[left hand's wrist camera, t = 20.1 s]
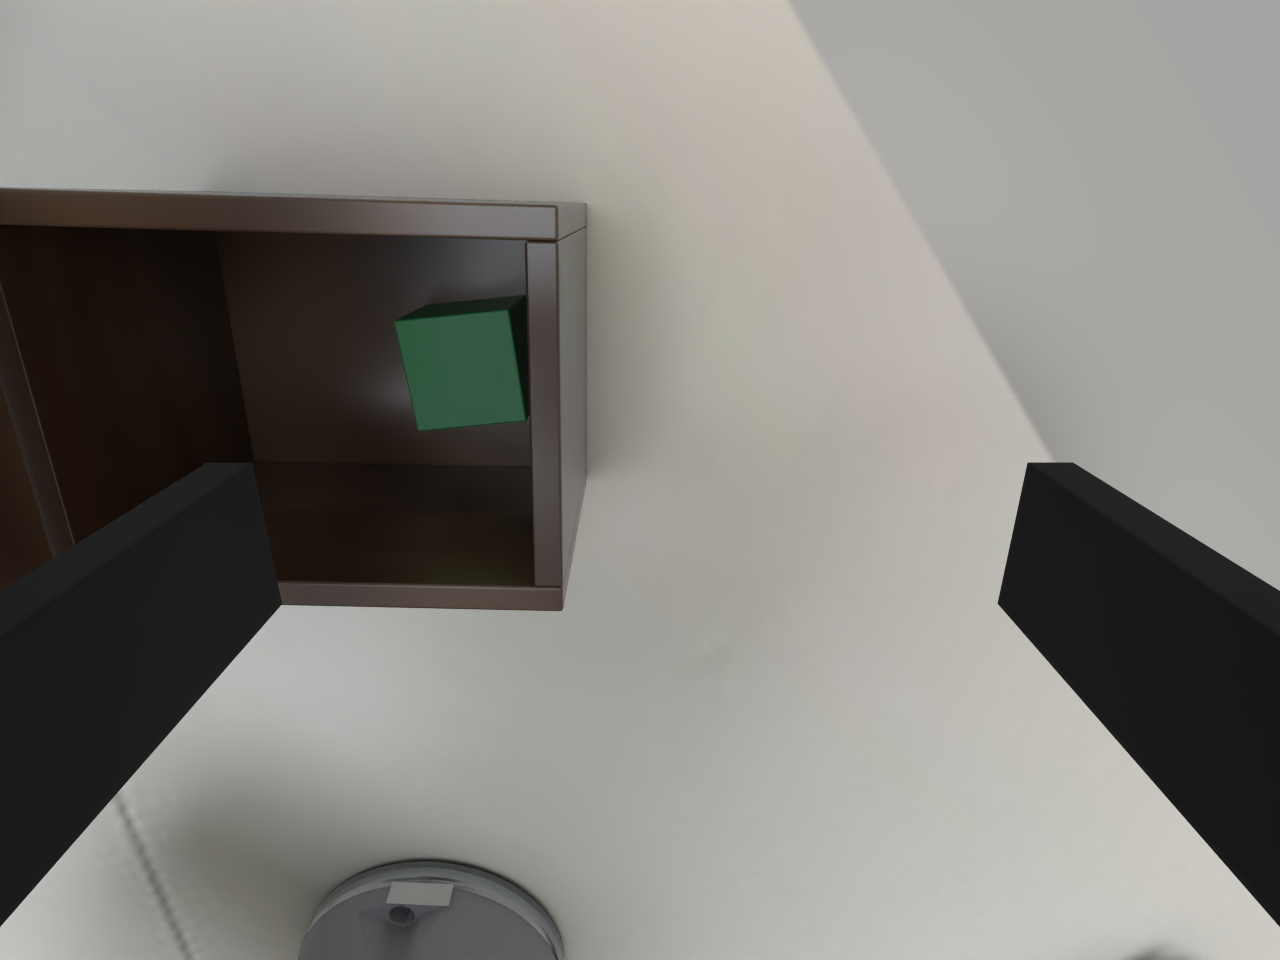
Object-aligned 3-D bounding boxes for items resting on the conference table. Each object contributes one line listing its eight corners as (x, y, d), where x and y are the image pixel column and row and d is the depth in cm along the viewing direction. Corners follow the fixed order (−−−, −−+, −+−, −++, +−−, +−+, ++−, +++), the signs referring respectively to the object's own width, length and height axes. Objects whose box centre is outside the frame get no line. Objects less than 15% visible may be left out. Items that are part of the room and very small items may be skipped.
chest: (586, 203, 28) (558, 204, 18) (586, 480, 32) (562, 612, 22) (197, 191, 28) (-64, 185, 18) (247, 471, 32) (61, 601, 22)
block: (525, 294, 29) (508, 309, 25) (540, 393, 30) (526, 421, 26) (424, 304, 29) (392, 320, 25) (444, 403, 30) (417, 432, 26)
